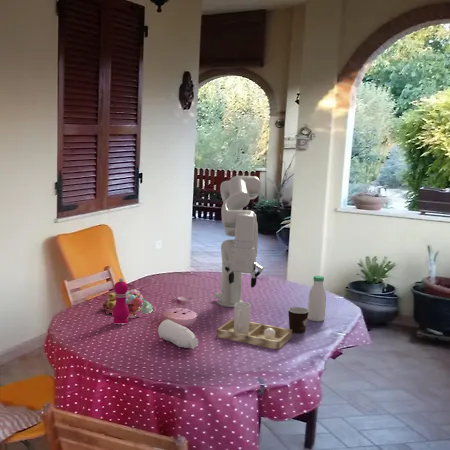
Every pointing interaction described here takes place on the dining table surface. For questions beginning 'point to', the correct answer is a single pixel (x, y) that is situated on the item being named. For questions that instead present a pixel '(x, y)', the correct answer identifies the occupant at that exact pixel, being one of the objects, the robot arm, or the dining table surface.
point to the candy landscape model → (129, 303)
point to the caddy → (255, 334)
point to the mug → (241, 317)
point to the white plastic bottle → (177, 334)
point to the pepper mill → (120, 303)
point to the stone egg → (269, 333)
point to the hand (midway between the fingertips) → (242, 284)
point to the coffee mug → (298, 319)
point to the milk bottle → (317, 300)
